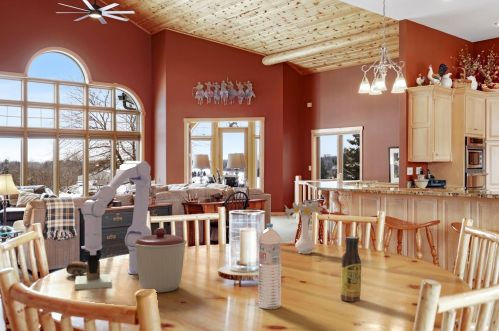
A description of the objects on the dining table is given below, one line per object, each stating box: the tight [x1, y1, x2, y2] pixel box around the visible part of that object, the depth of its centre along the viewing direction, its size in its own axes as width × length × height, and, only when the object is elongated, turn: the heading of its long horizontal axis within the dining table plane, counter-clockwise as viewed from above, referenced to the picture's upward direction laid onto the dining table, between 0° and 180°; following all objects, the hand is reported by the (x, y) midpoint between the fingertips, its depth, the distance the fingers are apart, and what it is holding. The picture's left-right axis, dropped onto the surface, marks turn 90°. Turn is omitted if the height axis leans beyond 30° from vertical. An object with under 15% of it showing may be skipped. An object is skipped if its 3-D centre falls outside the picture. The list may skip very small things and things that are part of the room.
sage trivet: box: [74, 273, 112, 290], centre depth 172 cm, size 12×12×2 cm
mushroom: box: [65, 260, 87, 277], centre depth 185 cm, size 8×8×6 cm
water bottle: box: [257, 223, 282, 310], centre depth 146 cm, size 7×7×25 cm
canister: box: [133, 227, 188, 294], centre depth 166 cm, size 18×18×21 cm
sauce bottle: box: [340, 236, 362, 303], centre depth 153 cm, size 7×6×20 cm
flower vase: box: [284, 200, 324, 255], centre depth 232 cm, size 13×18×25 cm
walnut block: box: [85, 260, 101, 279], centre depth 172 cm, size 4×4×5 cm
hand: (93, 271), depth 172 cm, fingers closed on walnut block, 4 cm apart
